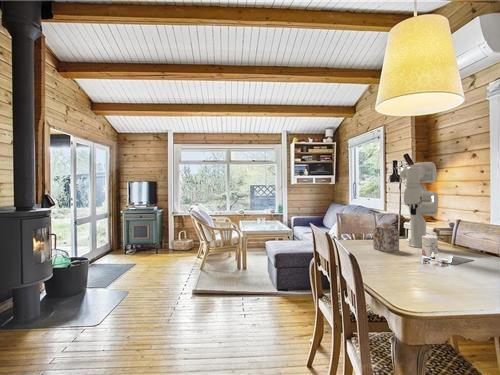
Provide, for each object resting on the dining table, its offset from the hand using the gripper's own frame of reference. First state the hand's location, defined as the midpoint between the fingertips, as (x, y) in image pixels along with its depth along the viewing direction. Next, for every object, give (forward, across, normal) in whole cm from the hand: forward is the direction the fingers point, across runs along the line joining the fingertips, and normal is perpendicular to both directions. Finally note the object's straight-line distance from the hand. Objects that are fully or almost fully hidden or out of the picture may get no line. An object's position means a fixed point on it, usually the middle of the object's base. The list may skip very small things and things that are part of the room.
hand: (413, 214), depth 186 cm
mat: (+24, +22, 0) cm, 33 cm away
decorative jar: (+25, -15, -7) cm, 30 cm away
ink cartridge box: (+25, +10, 0) cm, 27 cm away
